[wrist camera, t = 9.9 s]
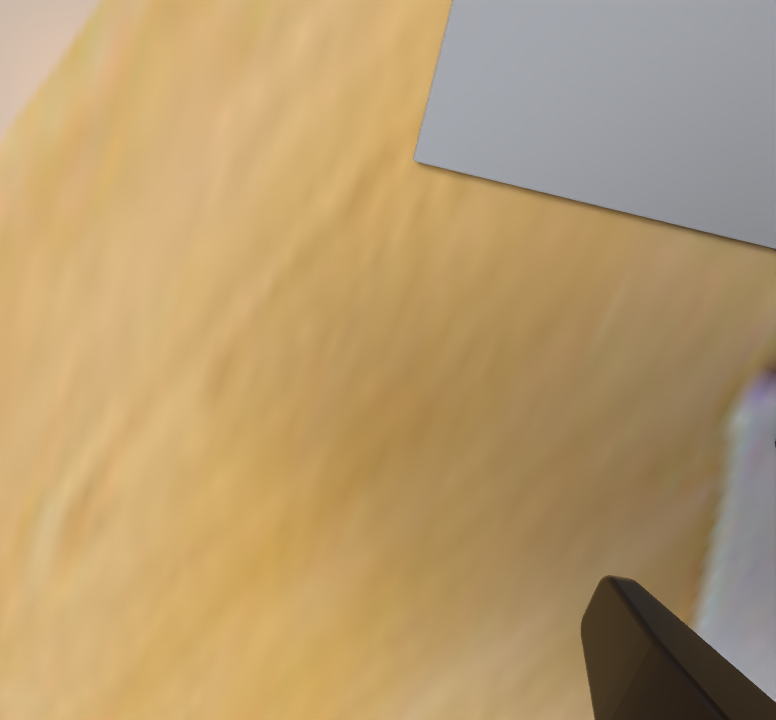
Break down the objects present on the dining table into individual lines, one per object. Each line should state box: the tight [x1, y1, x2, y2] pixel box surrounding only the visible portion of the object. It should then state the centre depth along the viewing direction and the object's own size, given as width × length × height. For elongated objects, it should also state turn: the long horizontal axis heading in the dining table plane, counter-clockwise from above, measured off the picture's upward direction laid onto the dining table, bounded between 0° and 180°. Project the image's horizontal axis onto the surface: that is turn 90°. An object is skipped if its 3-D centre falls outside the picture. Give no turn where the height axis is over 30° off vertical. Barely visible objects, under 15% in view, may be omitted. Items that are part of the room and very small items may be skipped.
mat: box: [413, 0, 776, 249], centre depth 19 cm, size 12×9×1 cm
